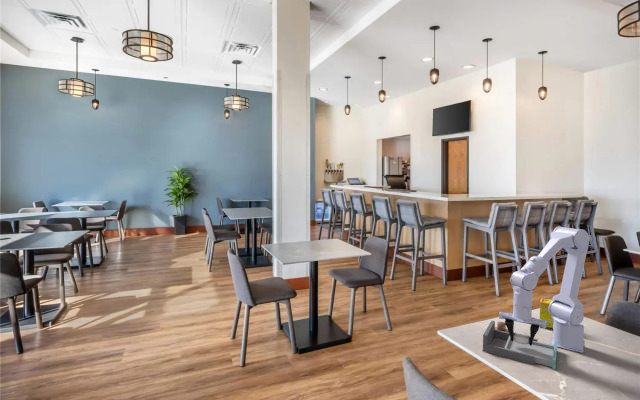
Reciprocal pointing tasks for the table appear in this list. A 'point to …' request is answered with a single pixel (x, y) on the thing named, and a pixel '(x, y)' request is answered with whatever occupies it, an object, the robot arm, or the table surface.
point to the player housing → (515, 355)
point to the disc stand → (501, 327)
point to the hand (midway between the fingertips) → (521, 342)
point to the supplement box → (546, 313)
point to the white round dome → (521, 338)
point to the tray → (536, 351)
